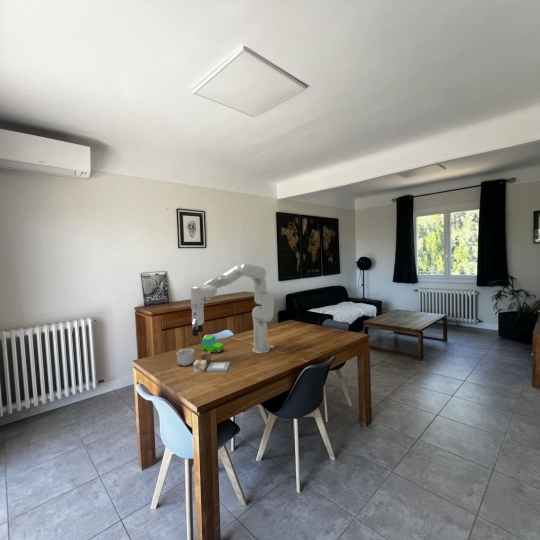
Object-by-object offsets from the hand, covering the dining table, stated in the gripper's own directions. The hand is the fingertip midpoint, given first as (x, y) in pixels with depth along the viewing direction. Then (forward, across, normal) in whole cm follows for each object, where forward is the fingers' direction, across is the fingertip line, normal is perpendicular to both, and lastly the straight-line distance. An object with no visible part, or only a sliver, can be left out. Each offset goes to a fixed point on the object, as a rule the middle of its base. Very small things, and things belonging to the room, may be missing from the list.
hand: (197, 333), depth 173 cm
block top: (+20, +5, -3) cm, 21 cm away
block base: (+20, -7, -3) cm, 21 cm away
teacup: (+20, +4, +10) cm, 23 cm away
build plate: (+20, -3, -14) cm, 24 cm away
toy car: (+20, +26, -3) cm, 33 cm away
